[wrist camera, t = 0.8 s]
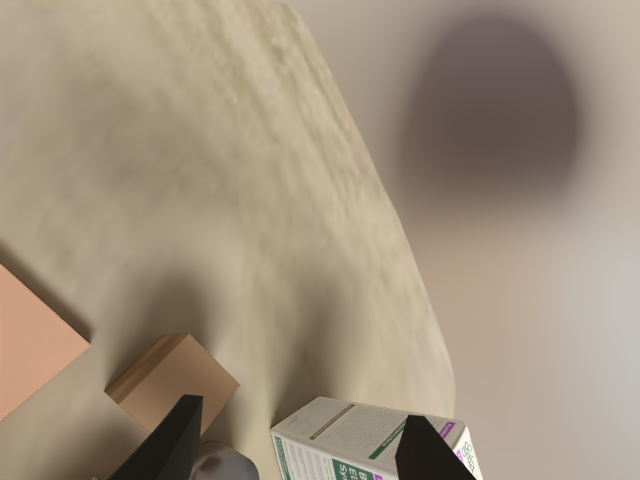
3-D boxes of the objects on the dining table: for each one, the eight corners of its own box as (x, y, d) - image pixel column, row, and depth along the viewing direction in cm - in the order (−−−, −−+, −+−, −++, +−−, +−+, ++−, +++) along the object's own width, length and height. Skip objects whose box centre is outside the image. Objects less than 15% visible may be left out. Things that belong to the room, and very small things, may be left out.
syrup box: (267, 428, 26) (420, 489, 15) (320, 393, 30) (471, 421, 19) (286, 499, 25) (458, 615, 15) (337, 454, 29) (503, 519, 18)
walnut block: (155, 435, 21) (182, 460, 17) (104, 391, 20) (118, 404, 15) (205, 377, 24) (240, 384, 19) (162, 335, 23) (189, 333, 18)
